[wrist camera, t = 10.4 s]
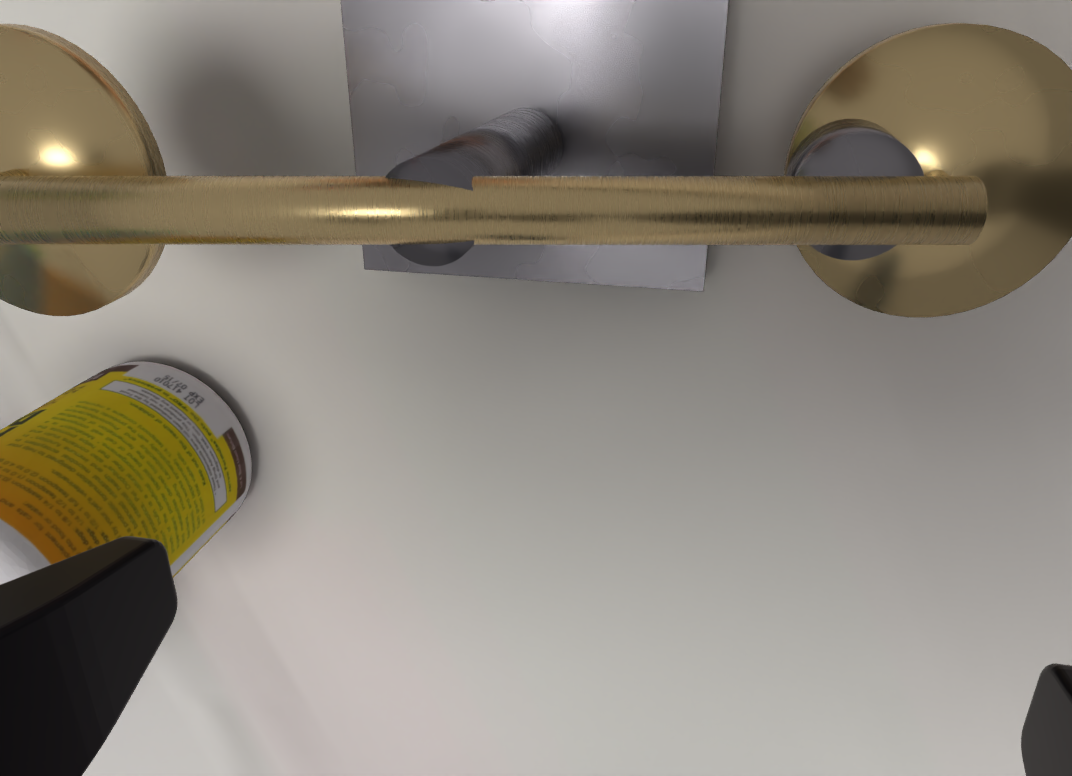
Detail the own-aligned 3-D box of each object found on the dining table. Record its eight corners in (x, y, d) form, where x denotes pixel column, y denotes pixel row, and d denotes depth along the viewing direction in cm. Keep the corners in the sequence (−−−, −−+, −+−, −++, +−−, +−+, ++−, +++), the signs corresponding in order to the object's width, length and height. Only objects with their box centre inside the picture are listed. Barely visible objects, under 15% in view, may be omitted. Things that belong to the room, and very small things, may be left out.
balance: (1073, -9, 16) (1455, -21, 7) (1000, 296, 18) (1221, 547, 10) (108, -6, 20) (-358, -12, 11) (156, 244, 22) (-195, 391, 14)
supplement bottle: (125, 315, 23) (-262, 513, 14) (291, 430, 24) (15, 694, 15) (66, 449, 26) (-293, 689, 17) (217, 551, 26) (-56, 840, 17)
